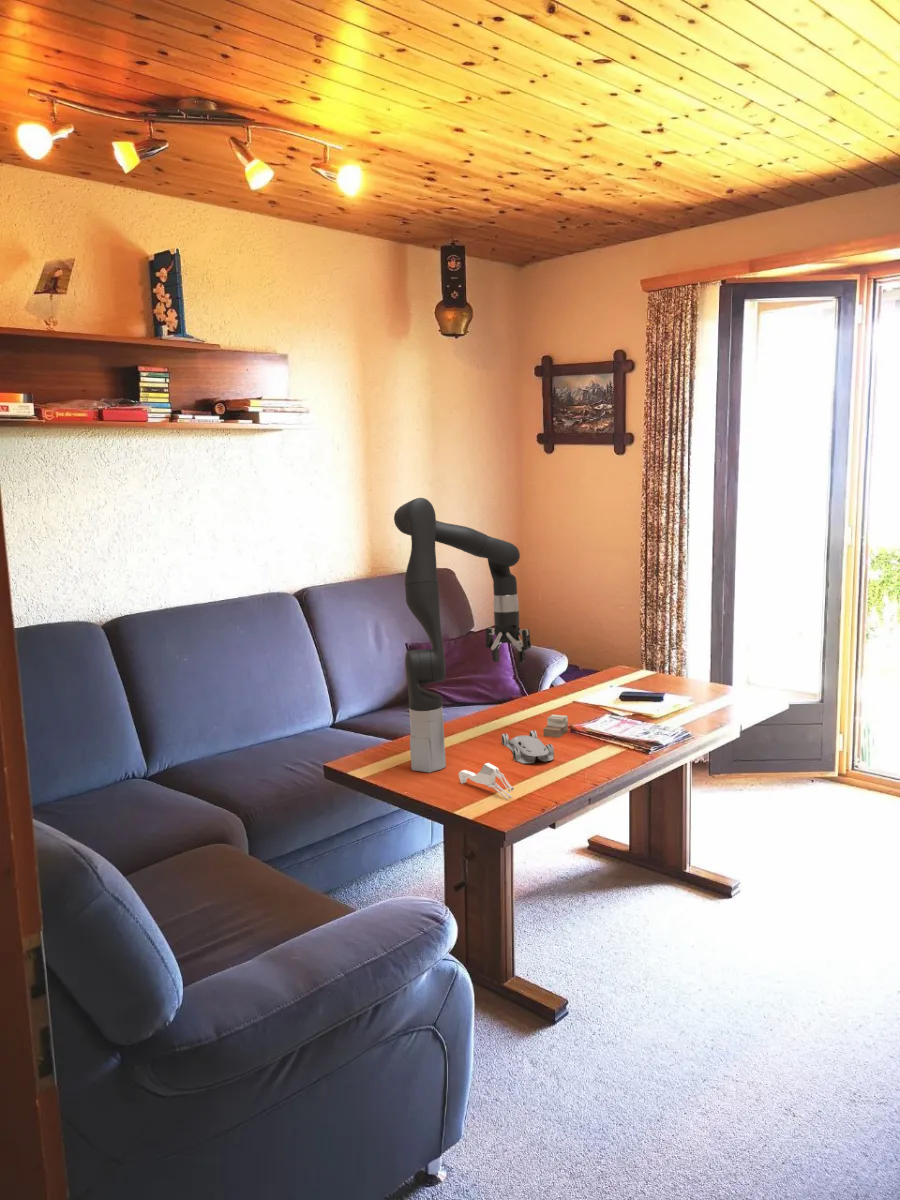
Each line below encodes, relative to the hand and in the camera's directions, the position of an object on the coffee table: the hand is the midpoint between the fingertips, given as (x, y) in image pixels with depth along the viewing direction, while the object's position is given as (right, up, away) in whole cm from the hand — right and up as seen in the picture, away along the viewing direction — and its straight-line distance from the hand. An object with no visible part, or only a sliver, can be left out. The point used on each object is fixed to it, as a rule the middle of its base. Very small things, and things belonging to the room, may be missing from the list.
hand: (508, 662), depth 278 cm
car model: (+5, -25, -13) cm, 29 cm away
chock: (+15, -22, +3) cm, 27 cm away
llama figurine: (-9, -30, -42) cm, 52 cm away
